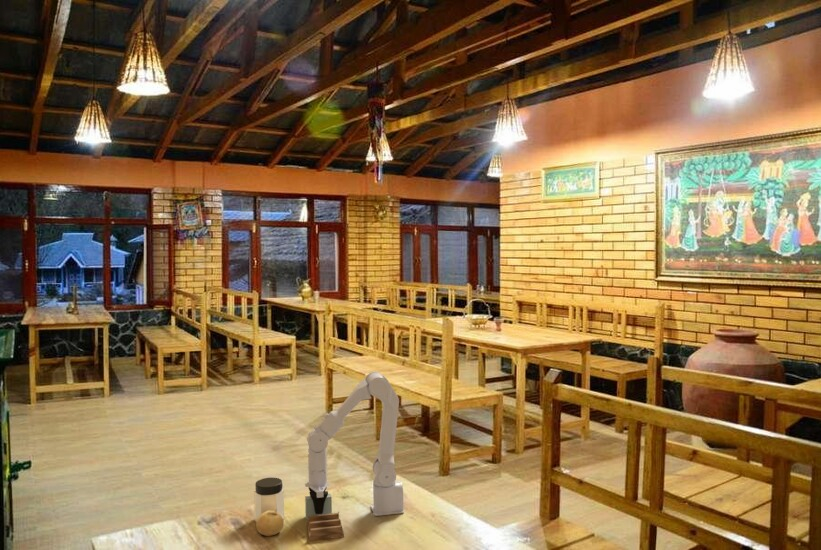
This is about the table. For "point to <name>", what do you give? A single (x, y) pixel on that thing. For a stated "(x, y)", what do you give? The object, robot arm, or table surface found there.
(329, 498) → the pale green prism
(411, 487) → the table surface
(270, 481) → the jar
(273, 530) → the onion
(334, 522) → the rack
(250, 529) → the table surface
